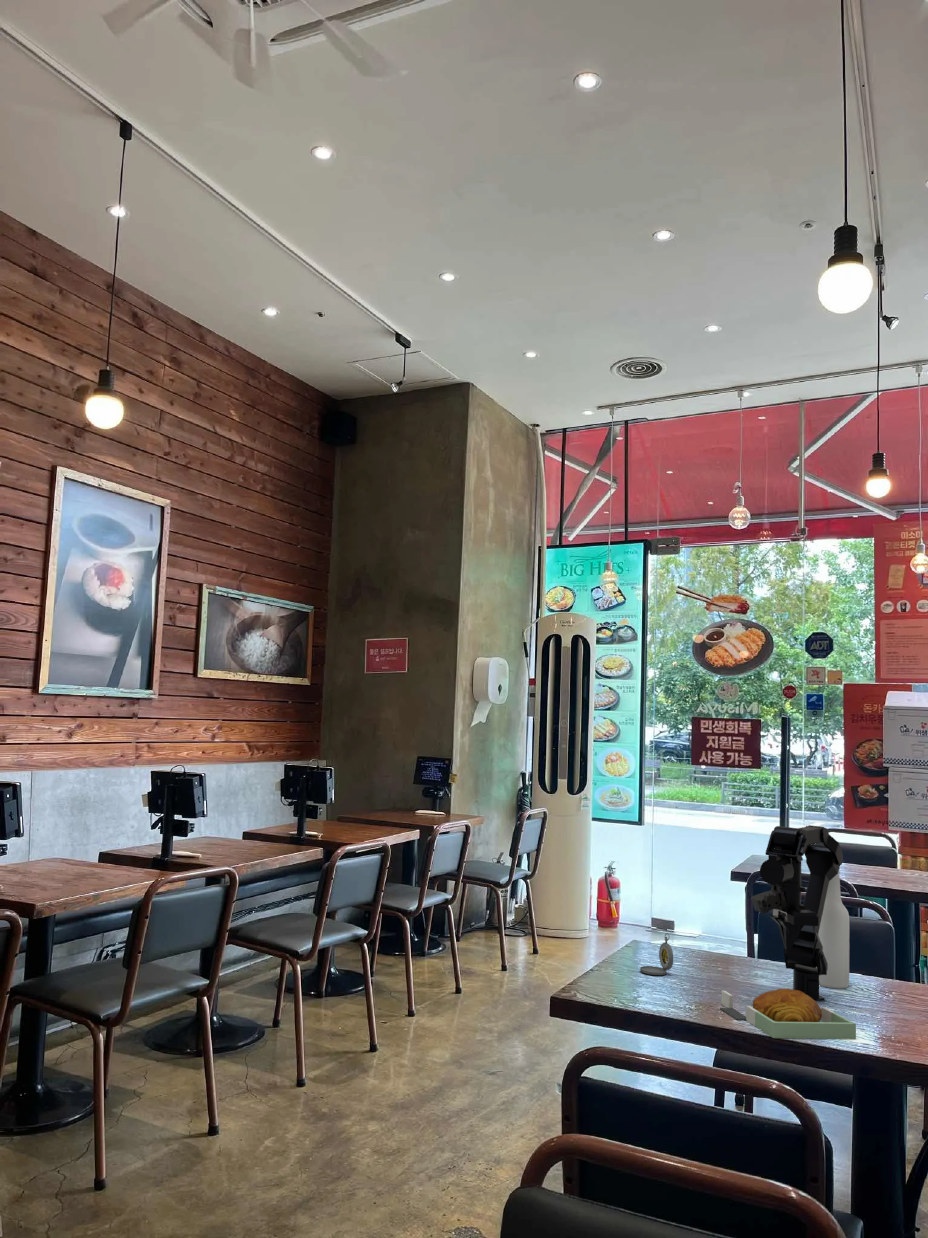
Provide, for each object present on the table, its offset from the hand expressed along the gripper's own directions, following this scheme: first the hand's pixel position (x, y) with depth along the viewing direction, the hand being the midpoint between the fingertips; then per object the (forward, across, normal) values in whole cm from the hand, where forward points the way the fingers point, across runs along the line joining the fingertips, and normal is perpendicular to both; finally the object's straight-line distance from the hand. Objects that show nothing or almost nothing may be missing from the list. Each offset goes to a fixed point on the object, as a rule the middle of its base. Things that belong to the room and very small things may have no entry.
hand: (787, 949), depth 213 cm
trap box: (+13, +12, -6) cm, 18 cm away
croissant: (+13, +13, -7) cm, 20 cm away
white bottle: (+14, -21, +22) cm, 33 cm away
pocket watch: (+13, -27, -22) cm, 37 cm away
